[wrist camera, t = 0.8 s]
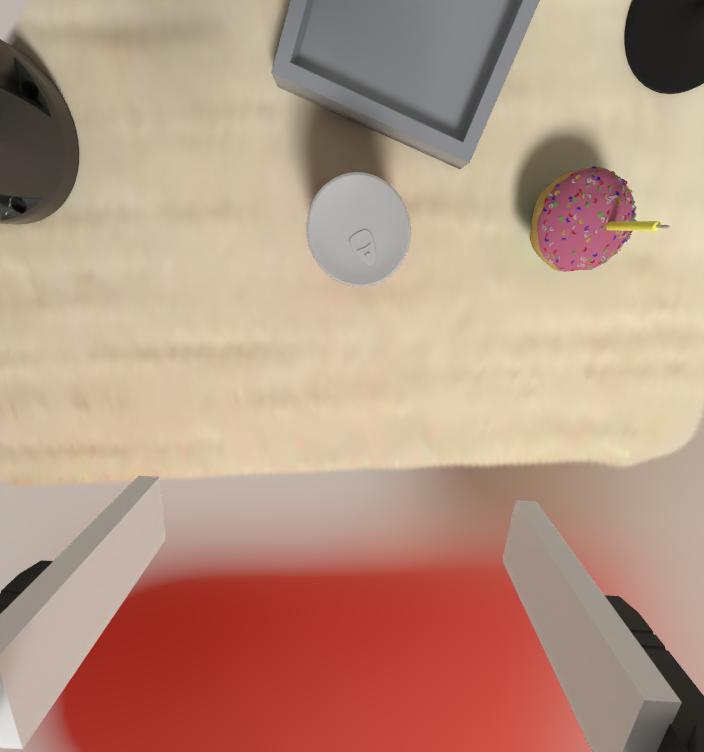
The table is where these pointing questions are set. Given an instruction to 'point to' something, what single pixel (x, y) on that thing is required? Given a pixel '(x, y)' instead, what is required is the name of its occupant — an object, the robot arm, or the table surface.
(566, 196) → the cupcake
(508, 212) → the table surface
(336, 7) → the tray
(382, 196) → the canned food
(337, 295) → the table surface
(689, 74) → the wine glass
